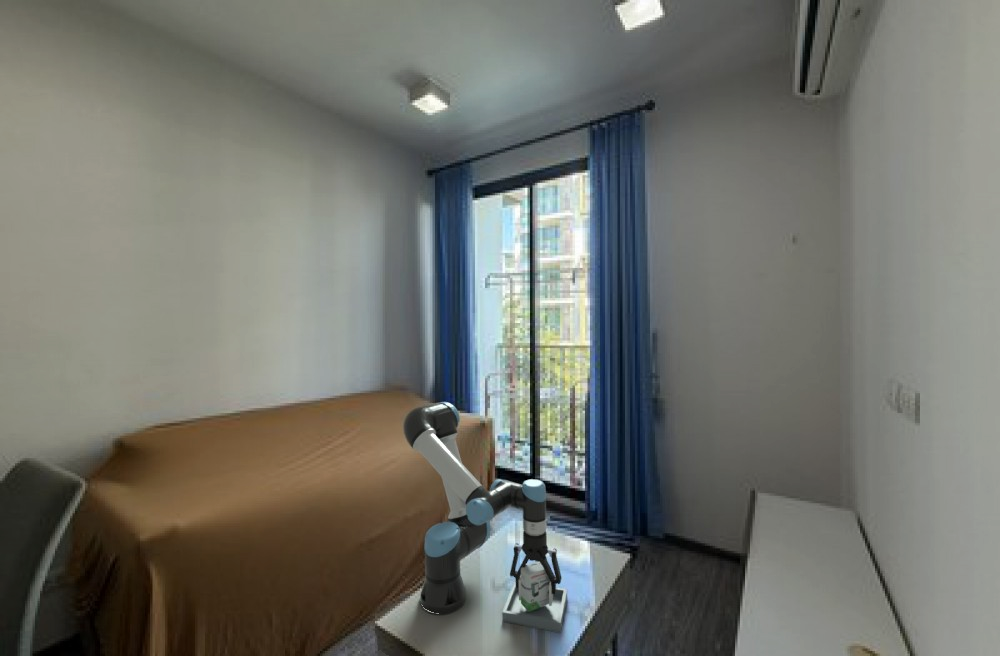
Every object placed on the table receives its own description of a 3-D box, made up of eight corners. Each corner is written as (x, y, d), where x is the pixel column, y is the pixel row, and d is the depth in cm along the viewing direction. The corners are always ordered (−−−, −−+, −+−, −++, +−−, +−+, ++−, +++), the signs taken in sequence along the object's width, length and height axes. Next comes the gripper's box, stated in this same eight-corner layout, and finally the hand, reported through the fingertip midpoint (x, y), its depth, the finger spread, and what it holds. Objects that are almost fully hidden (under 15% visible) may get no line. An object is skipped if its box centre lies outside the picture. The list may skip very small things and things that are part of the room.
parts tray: (502, 621, 125) (502, 612, 125) (514, 589, 141) (514, 580, 141) (560, 633, 120) (560, 622, 120) (567, 598, 136) (567, 589, 136)
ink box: (528, 613, 126) (528, 575, 126) (520, 603, 131) (519, 567, 131) (551, 603, 131) (550, 566, 131) (542, 594, 135) (541, 559, 135)
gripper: (498, 532, 130) (500, 602, 130) (567, 541, 124) (568, 614, 124) (505, 521, 137) (506, 587, 137) (570, 529, 131) (571, 598, 131)
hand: (535, 600), depth 131 cm, fingers closed on ink box, 9 cm apart
